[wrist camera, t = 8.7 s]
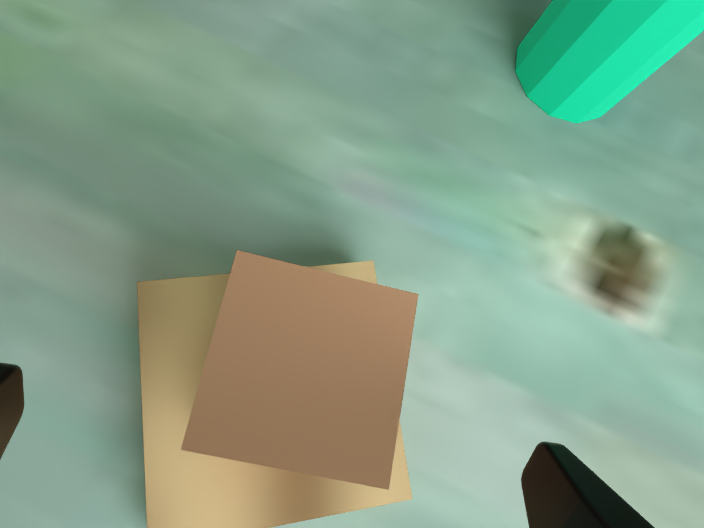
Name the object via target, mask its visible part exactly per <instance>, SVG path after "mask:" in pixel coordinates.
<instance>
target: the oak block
mask: <svg viewBox="0 0 704 528" xmlns="http://www.w3.org/2000/svg"><path fill="white" fill-rule="evenodd" d="M308 267H309V268H313V269H317V270H321V271H325V272H329V273H333V274H337V275H341V276H346V277H350V278H354V279H358V280H362V281H366V282H370V283H374V284H377V279H376V273H375V267H374V261H364V262H353V263H342V264H331V265H320V266H308ZM229 276H230V274H219V275H208V276H197V277H185V278H174V279H163V280H152V281H141V282H137V297H138V321H139V345H140V369H141V393H142V417H143V441H144V465H145V488H146V512H147V528H270V527H275V526H280V525H285V524H290V523H295V522H300V521H305V520H310V519H315V518H320V517H325V516H330V515H335V514H340V513H345V512H350V511H355V510H360V509H365V508H370V507H375V506H380V505H385V504H390V503H395V502H400V501H405V500H410V499H412V494H411V488H410V481H409V475H408V469H407V463H406V457H405V451H404V445H403V439H402V432H401V426H400V420H399V425H398V432H397V439H396V445H395V452H394V458H393V465H392V472H391V478H390V485H389V490H387V489H382V488H376V487H371V486H366V485H361V484H355V483H350V482H345V481H340V480H335V479H329V478H324V477H319V476H314V475H309V474H303V473H298V472H293V471H288V470H283V469H277V468H272V467H267V466H262V465H257V464H251V463H246V462H241V461H236V460H231V459H225V458H220V457H215V456H210V455H205V454H199V453H194V452H189V451H184V450H181V446H182V443H183V439H184V436H185V432H186V429H187V425H188V422H189V418H190V414H191V411H192V407H193V404H194V400H195V397H196V393H197V390H198V386H199V383H200V379H201V375H202V372H203V368H204V365H205V361H206V358H207V354H208V351H209V347H210V343H211V340H212V336H213V333H214V329H215V326H216V322H217V319H218V315H219V312H220V308H221V304H222V301H223V297H224V294H225V290H226V287H227V283H228V280H229Z"/></svg>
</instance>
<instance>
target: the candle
mask: <svg viewBox="0 0 704 528" xmlns="http://www.w3.org/2000/svg"><path fill="white" fill-rule="evenodd" d="M702 31H704V0H552V2H551V3H550V4H549V6H548V7H547V9H546V10H545V11H544V13H543V14H542V15H541V17H540V18H539V19H538V21H537V22H536V23H535V25H534V26H533V27H532V29H531V30H530V31H529V33H528V34H527V35H526V37H525V38H524V39H523V41H522V42H521V43H520V45H519V46H518V48H517V58H516V69H515V72H516V74H517V76H518V78H519V80H520V83H521V85H522V87H523V89H524V91H525V93H526V95H527V97H528V98H529V99H531V100H532V101H533V102H534V103H535V104H537V105H538V106H539V107H540V108H541V109H542V110H544V111H545V112H546V113H547V114H548V115H549V116H553V117H556V118H560V119H563V120H567V121H570V122H574V123H580V122H584V121H588V120H592V119H596V118H600V117H601V116H602V115H603V114H605V113H606V112H607V111H608V110H609V109H611V108H612V107H613V106H614V105H615V104H617V103H618V102H619V101H620V100H621V99H622V98H624V97H625V96H626V95H627V94H628V93H630V92H631V91H632V90H633V89H634V88H636V87H637V86H638V85H639V84H640V83H642V82H643V81H644V80H645V79H646V78H648V77H649V76H650V75H651V74H652V73H654V72H655V71H656V70H657V69H658V68H659V67H661V66H662V65H663V64H664V63H665V62H667V61H668V60H669V59H670V58H671V57H673V56H674V55H675V54H676V53H677V52H679V51H680V50H681V49H682V48H683V47H685V46H686V45H687V44H688V43H689V42H691V41H692V40H693V39H694V38H695V37H696V36H698V35H699V34H700V33H701V32H702Z"/></svg>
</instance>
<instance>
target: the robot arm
mask: <svg viewBox="0 0 704 528" xmlns="http://www.w3.org/2000/svg"><path fill="white" fill-rule="evenodd" d="M23 409H24V392H23V376H22V370H21V368H20V367H19V366H17V365H13V364H7V363H0V459H1V457H2V455H3V453H4V451H5V449H6V447H7V445H8V443H9V441H10V439H11V437H12V435H13V433H14V431H15V429H16V427H17V425H18V423H19V421H20V418H21V416H22V413H23ZM521 483H522V490H523V496H524V501H525V507H526V512H527V518H528V523H529V528H654V527H653V526H652V525H651V524H650V523H649V522H648V521H647V520H645V519H644V518H643V517H642V516H641V515H640V514H639V513H638V512H637V511H636V510H634V509H633V508H632V507H631V506H630V505H629V504H628V503H627V502H626V501H625V500H623V499H622V498H621V497H620V496H619V495H618V494H617V493H616V492H615V491H614V490H612V489H611V488H610V487H609V486H608V485H607V484H606V483H605V482H604V481H603V480H601V479H600V478H599V477H598V476H597V475H596V474H595V473H594V472H593V471H592V470H590V469H589V468H588V467H587V466H586V465H585V464H584V463H583V462H582V461H581V460H579V459H578V458H577V457H576V456H575V455H574V454H573V453H572V452H571V451H570V450H568V449H567V448H566V447H565V446H564V445H561V444H558V443H551V442H541V443H539V444H538V445H537V446H536V448H535V450H534V452H533V453H532V455H531V457H530V459H529V461H528V463H527V464H526V466H525V468H524V470H523V473H522V478H521Z"/></svg>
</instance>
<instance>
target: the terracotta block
mask: <svg viewBox="0 0 704 528" xmlns="http://www.w3.org/2000/svg"><path fill="white" fill-rule="evenodd" d="M417 299H418V294H415V293H411V292H407V291H403V290H399V289H395V288H391V287H387V286H382V285H378V284H374V283H370V282H366V281H362V280H358V279H354V278H350V277H346V276H341V275H337V274H333V273H329V272H325V271H321V270H317V269H313V268H309V267H304V266H300V265H296V264H292V263H288V262H284V261H280V260H276V259H272V258H267V257H263V256H259V255H255V254H251V253H247V252H243V251H239V250H237V251H236V255H235V258H234V262H233V265H232V269H231V272H230V276H229V280H228V283H227V287H226V290H225V294H224V297H223V301H222V304H221V308H220V312H219V315H218V319H217V322H216V326H215V329H214V333H213V336H212V340H211V343H210V347H209V351H208V354H207V358H206V361H205V365H204V368H203V372H202V375H201V379H200V383H199V386H198V390H197V393H196V397H195V400H194V404H193V407H192V411H191V414H190V418H189V422H188V425H187V429H186V432H185V436H184V439H183V443H182V446H181V450H184V451H189V452H194V453H199V454H205V455H210V456H215V457H220V458H225V459H231V460H236V461H241V462H246V463H251V464H257V465H262V466H267V467H272V468H277V469H283V470H288V471H293V472H298V473H303V474H309V475H314V476H319V477H324V478H329V479H335V480H340V481H345V482H350V483H355V484H361V485H366V486H371V487H376V488H382V489H387V490H389V485H390V478H391V472H392V465H393V458H394V452H395V445H396V439H397V432H398V425H399V419H400V412H401V405H402V399H403V392H404V386H405V379H406V372H407V366H408V359H409V352H410V346H411V339H412V333H413V326H414V319H415V313H416V306H417Z"/></svg>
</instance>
